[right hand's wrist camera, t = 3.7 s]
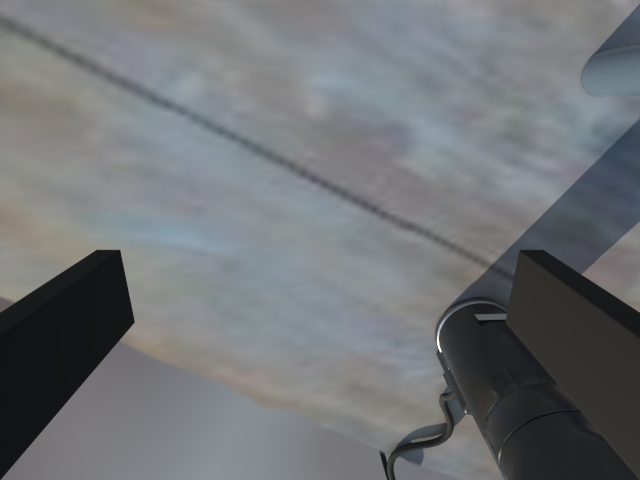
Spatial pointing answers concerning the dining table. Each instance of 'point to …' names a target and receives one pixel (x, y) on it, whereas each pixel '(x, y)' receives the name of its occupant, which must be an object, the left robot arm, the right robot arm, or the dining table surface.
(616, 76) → the bottle
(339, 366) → the dining table surface
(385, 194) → the dining table surface
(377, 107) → the dining table surface
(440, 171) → the dining table surface
